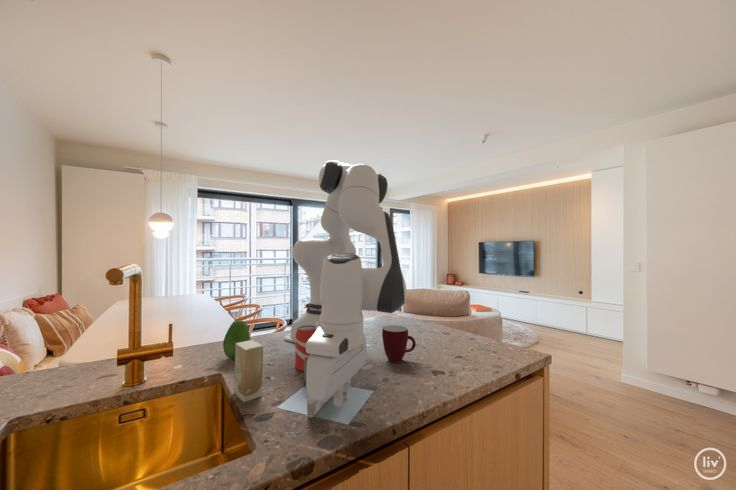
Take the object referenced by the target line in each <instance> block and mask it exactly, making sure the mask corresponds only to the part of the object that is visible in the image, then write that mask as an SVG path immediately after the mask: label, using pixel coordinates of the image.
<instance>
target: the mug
mask: <svg viewBox="0 0 736 490" xmlns="http://www.w3.org/2000/svg"><path fill="white" fill-rule="evenodd" d="M381 336H382V342H383V350H384V354H385V356H386V358H387V360H388V361H389V362H390V363H400V362H401V361H402V360H403V358H404V356H405V354H406V353H410V352H412V351H414V350H415V348H416V343H417V342H416V340H415V338H414V337H413V336H411V335H409V328H408V327H406V326H403V325H397V324H395V325H394V324H391V325H389V324H388V325H386V326H385V325H384V326H383V327H382V334H381ZM408 340H409V341H411V342H412V345H411V347H410V348H408V349H407V346H408Z"/></svg>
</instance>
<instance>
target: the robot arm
mask: <svg viewBox="0 0 736 490" xmlns="http://www.w3.org/2000/svg"><path fill="white" fill-rule="evenodd" d="M318 182H319V183H318V184H319V188H320V190H321V191H323V192H324V193H326V194H328V196H327V198H326V202H325V205H324V208H323V212H322V215H321V217H320V225H321V227H322V229H323V230H324V232H325V233H327V234H328V235H327V237H308V238H302V239H298V240H297V241H296V242H295V244H294V245H293V247H292V258H293V260H294V261H295V263H296V264H297V265H298V266H299V267H300V268H301V269H302V270H303V271H304V272H305V273H306V276H307V278H308V281H309V282H308V283H309V291H310V296H309V297H310V300H309V301H310V302H309V303H307V304H305V305H303V306H304V307H303V308H304V309H306V310H305V311H306V312H304V313H303V314H301V316H299V317H298V318H297V319H295V320H294V321H293V323H292V325H291V328H290V333H288V334H286V335H284V341H285V342H286V341H287V342H290V343H295V344H296V332H297V330H298V327H300V326H304V325H312V326H315V327H316V331H315V333H314V334H313V335H312V337H311V338H310V339H309V340H308V341H307V343H306V353H309V354H310V356H309V358H308V360H307V368H306V388H307V395H308V396H309V398H310V399H311V400H315V401H320V402H327V401H328V400H329V399H330V398H331V397H332V396H333V397H334V405H335V406H339V407H341V406H342V405H343V404H344V403H345V402H346V401H347V399H348V391H349V387H351V383H352V378H353V377H354V376H355V375H356V374H357V373H358V372H359V371H360V370H361V369H362V368H363V367H364V366H365V365H366V364H367V357H368V354H367V351H368V350H367V339H366V336H365V333H364V314H363V311H373V312H374V311H377V312H380V313H387V314H393V313H395V312H396V311H398V310H399V309H400V308H401V307H403V306H404V304H405V303H406V299H407V285H406V281H405V277H404V275H403V272H402V267H401V264H400V257H399V252H398V247H397V240H396V235H395V231H394V226H393V221H392V218H391V217H390V214H389V213H388V212H386V211H384V210H383V209H382V208H381V206H380V204H381V203H383V201H384V199H385V197H386V196H387V192H388V185H389V184H388V181H387V178H386V177H385V175H382V174H380V172H379V173H378V172H377V171H376V170H375V169H374V168H373V167H372V166H370V165H369V164H366V163H357V164H350V163H347V162H346V163H345V162H340V160H334V159H330V160H327V161H325V163H324V164H323V165H322V167H321V169H320V170H319V175H318ZM350 230H353V231H355V232H356V233H361V234H363V235H367V236H369V237H371V238H373V239H375V240H376V241H377V242H378V243H379V245H380V251H381V258H382V264H383V265H382V266H381V267H378V268H375V267H374V268H373V267H371V268H370V267H369V268H368V267H365V268H364V267H363V266H362V265H363V264H362V258H361V257H360V256H359V255H357V250H356V247H355V245H354V243H353V242H352V241H351V239H350Z"/></svg>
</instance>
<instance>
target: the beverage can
mask: <svg viewBox="0 0 736 490" xmlns="http://www.w3.org/2000/svg"><path fill="white" fill-rule="evenodd" d="M315 331H316V327H315V326H312V325H304V326H300V327H298V330H297V332H296V343H295V357H294V360H295V362H294V363H295V364H294V365H295V369H296V370H297V371H301V372H304V357H305V356H310V354H309V353H306V343H307V341H308V340H309V339H310V338H311V337H312V335H313V334H314V333H315Z"/></svg>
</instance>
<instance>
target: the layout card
mask: <svg viewBox="0 0 736 490" xmlns="http://www.w3.org/2000/svg"><path fill="white" fill-rule="evenodd" d="M373 393H374V390H370V389H364V388H360V387H353V386H350V387H349V391H348V399H347V401H346V402H345V403H344V404H343V405H342V406H341V407H339V406H335V405H334V397H333V396H332V397H331V398H330V399H329V400H328V401H327V402H326V403H325V404H324V405H323V406H322V407H321V408H320V409H319V411H318V412H317V413H316V414H315V415H314V416H313V417H314V418H318V419H322V420H327V421H331V422H334V423H338V424H343V425H346V426H347V425H348V426H349V425H350V424H351V422H352V420H353V419H354V418H355V417H356V415H358V413H359V412H360V411H361V409H362V408H363V406H365V404H366V402H368V400H369V399H370V397H371V396H372V394H373ZM276 409H279V410H284V411H288V412H292V413H296V414H300V415H305V416H307V388H306V386H304V385H303V387H301V388H300V389H299V390H298V391H296V392H295V393H293V395H291V396H289V397H288V398H287V399H285V401H283V402H282V403H281V404H279V405H278V406H277V407H276ZM313 417H312V418H313Z"/></svg>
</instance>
